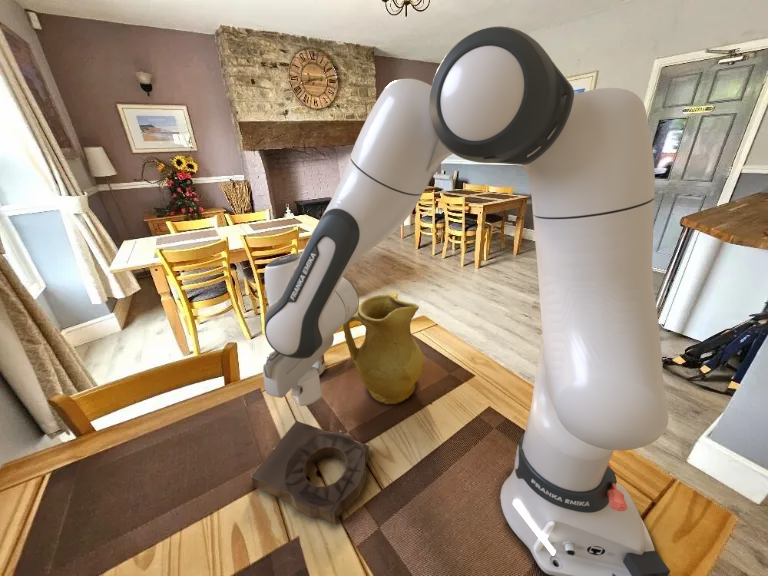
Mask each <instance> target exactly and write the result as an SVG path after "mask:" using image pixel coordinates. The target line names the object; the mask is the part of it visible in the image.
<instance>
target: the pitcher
mask: <svg viewBox="0 0 768 576" xmlns="http://www.w3.org/2000/svg"><path fill="white" fill-rule="evenodd" d="M419 309H420V308H419V305H417V304H416V303H413V302H408V301H405V300H400V299H398V298H396V297H395V296H394V295H393V294H389V293H384V294H377V295H373V296H370V297H368V298H366V299H364V300H363V301H361V303H359V307H358V310H357V312H356V313H355V314H354V315H353V316H352V317H351V318H350V319H349V320H348V321H347V322H346V323H345V324H344V325H343V326H342V329H343V333H344V340H345V343H346V345H347V347H348V352H349V355H350V360H351V361H352V362H353V363H354V365H355V368H356V372H357V373H358V376H359V379H360V381H361V383H362V384H363V385H364V387H365V388H366V389H367V390H368V391H367V392H369V394H370V396H371V397H372V398H373V399H374V400H376V401H378V402H380V403H381V404H385V405H393V404H394V405H396V404H399V403H402V402H405V400H406V399H409V397H410V396H412V395H413V394H414V392H415V389H416V382H417V381H418V380H419V379H420V378H421V376H422V373H423V372H424V370H425V369H424V368H425V365H424V364H425V362H424V360H425V359H424V355H423V352H422V350H421V347H420V346H419V345H418V343H417V342H416V341H415V339H414V337H413V336H412V332H411V323H412V319H413V318H414V316H415V315H416V313H417V311H418V310H419ZM355 321H356V322H360V323H361V324H362V325H363V326H364V327H365V334H364V335H365V336H364V340H363V342H362V343H361V345H360V347H357V345H356V342H355V339H354V337H353V334H352V330H351V325H350V324H351V323H353V322H355Z"/></svg>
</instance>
